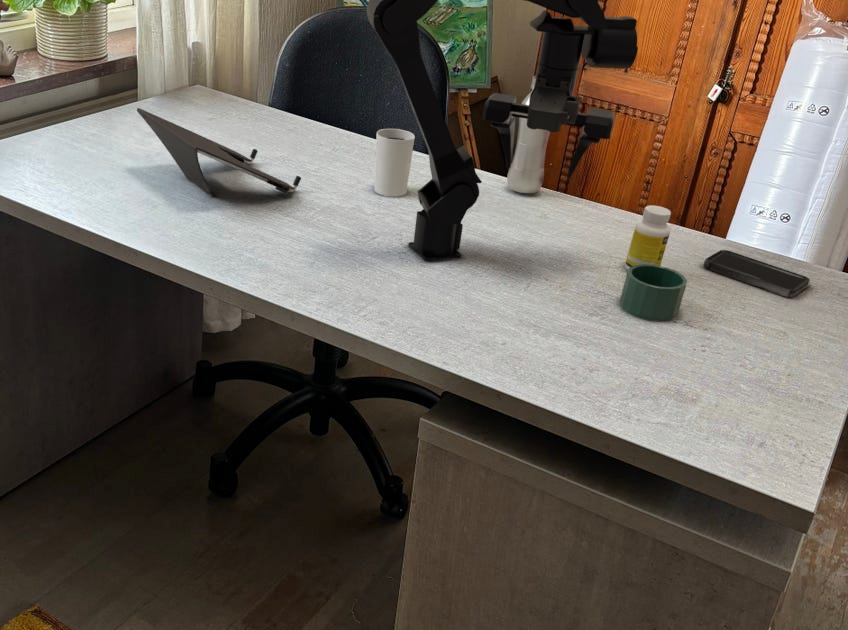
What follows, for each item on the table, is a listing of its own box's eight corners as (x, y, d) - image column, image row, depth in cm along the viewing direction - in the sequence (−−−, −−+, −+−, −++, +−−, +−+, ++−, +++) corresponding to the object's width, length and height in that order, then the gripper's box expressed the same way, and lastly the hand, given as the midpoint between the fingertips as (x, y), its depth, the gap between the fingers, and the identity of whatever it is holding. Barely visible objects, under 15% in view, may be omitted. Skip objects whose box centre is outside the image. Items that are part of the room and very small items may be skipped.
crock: (643, 324, 138) (652, 291, 135) (608, 298, 144) (616, 267, 141) (689, 317, 141) (699, 285, 138) (653, 292, 147) (662, 261, 144)
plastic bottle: (501, 184, 182) (520, 72, 171) (537, 186, 183) (557, 75, 172) (508, 196, 177) (528, 81, 166) (544, 198, 178) (566, 84, 167)
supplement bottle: (658, 279, 152) (675, 219, 146) (623, 273, 152) (639, 212, 147) (658, 266, 156) (675, 207, 150) (624, 260, 157) (639, 201, 151)
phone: (723, 248, 161) (812, 278, 153) (721, 255, 162) (809, 285, 154) (702, 260, 156) (793, 292, 148) (700, 267, 157) (791, 298, 149)
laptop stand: (289, 233, 170) (312, 184, 167) (179, 190, 153) (202, 134, 151) (228, 190, 185) (248, 144, 182) (121, 146, 168) (141, 95, 166)
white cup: (401, 184, 178) (407, 128, 172) (414, 196, 173) (420, 140, 167) (366, 184, 176) (371, 128, 170) (378, 198, 171) (383, 140, 165)
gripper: (484, 67, 134) (468, 179, 143) (620, 87, 131) (595, 200, 140) (497, 51, 143) (481, 157, 152) (625, 70, 140) (601, 177, 149)
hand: (538, 173), depth 148 cm, fingers open, 9 cm apart
